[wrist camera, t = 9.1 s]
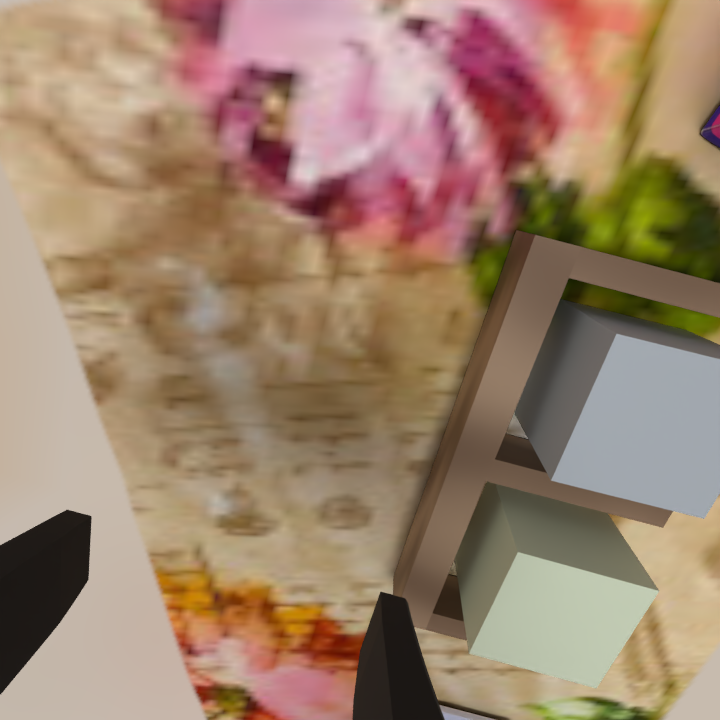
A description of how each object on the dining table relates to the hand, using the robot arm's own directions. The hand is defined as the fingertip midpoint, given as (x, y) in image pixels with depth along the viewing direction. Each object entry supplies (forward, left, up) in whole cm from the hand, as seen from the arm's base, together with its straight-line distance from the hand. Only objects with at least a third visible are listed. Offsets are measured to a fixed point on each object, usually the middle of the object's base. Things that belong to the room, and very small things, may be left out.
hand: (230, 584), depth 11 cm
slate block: (+5, -11, -10) cm, 15 cm away
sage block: (-3, -11, -10) cm, 15 cm away
